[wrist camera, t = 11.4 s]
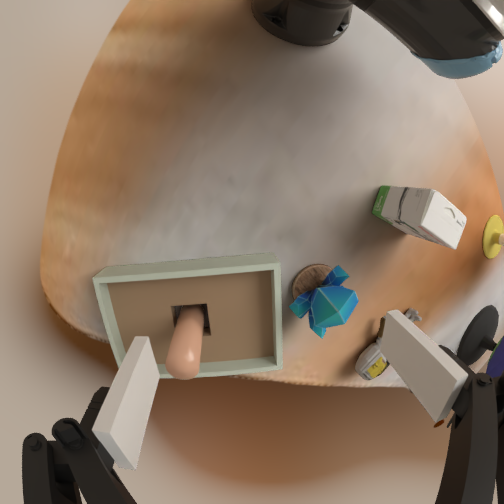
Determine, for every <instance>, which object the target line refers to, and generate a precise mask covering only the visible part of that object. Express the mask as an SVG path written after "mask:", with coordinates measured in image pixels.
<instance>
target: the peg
mask: <svg viewBox="0 0 504 504" xmlns="http://www.w3.org/2000/svg"><path fill="white" fill-rule="evenodd" d="M204 318H205V311H204V308H203V307H202V306H201V305H200V304H193V305H183V306H182V308H181V310H180V314H179V317H178V320H177V324H176V327H175V330H174V334H173V337H172V341H171V344H170V348H169V351H168V355H167V358H166V362H165V367H166V370H167V371H168V373H169V374H170V375H171V376H173V377H175V378H177V379H181V380H188V379H192V378H194V377H195V376H196V375H197V374H198V372H199V366H200V356H201V346H202V336H203V327H204Z"/></svg>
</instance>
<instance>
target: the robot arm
mask: <svg viewBox="0 0 504 504" xmlns="http://www.w3.org/2000/svg"><path fill="white" fill-rule="evenodd" d="M353 4H354V5H356V6H357V7H358V8H360V9H361V10H363V11H364V12H365V13H367V14H368V15H369V16H371V17H372V18H373V19H374V20H376V21H377V22H378V23H380V24H381V25H382V26H383V27H384V28H386V29H387V30H388V31H389V32H390V33H392V34H393V35H394V36H395V37H396V38H397V39H398V40H400V41H401V42H402V43H403V44H404V45H405V46H406V47H407V48H408V49H409V50H410V51H411V53H412V54H413V55H414V56H415V57H417V58H419V59H420V60H421V61H422V62H424V63H425V64H426V65H427V66H428V67H429V68H430V69H431V70H432V71H433V72H434V73H436V74H437V75H439V76H443V77H446V78H450V79H461V78H467V77H471V76H475V75H478V74H480V73H482V72H485V71H486V70H488V69H490V68H491V67H492V64H493V63H497V62H498V61H499V60H500V58H501V56H502V52H503V49H502V46H501V42H500V41H501V40H503V39H504V0H252V11H253V14H254V16H255V18H256V20H257V21H258V22H259V23H260V24H261V25H262V27H264V28H265V29H266V30H267V31H269V32H270V33H272V34H273V35H275V36H277V37H279V38H281V39H283V40H285V41H288V42H291V43H295V44H299V45H305V46H321V45H326V44H329V43H332V42H334V41H335V40H337V39H338V38H339V37H340V36H341V35H342V34H343V33H344V32H345V31H346V29H347V27H348V25H349V23H350V18H351V12H352V7H353ZM380 352H381V353H382V354H383V355H384V357H385V358H386V359H387V360H388V362H389V363H390V364H391V365H392V367H393V368H394V369H395V370H396V372H397V373H398V374H399V376H400V377H401V378H402V379H403V381H404V382H405V383H406V384H407V386H408V387H409V388H410V390H411V391H412V392H413V394H414V395H415V396H416V397H417V399H418V400H419V401H420V403H421V404H422V405H423V407H424V408H425V409H426V410H427V412H428V413H429V415H430V416H431V417H432V418H433V420H434V421H435V423H436V422H438V421H440V420H442V419H444V418H446V417H447V416H448V414H449V412H450V410H451V409H453V411H455V413H454V414H453V416H452V418H451V420H450V421H449V423H448V425H447V428H448V427H449V426H450V424H451V423H452V426H451V433H450V440H449V446H448V452H447V458H446V463H445V467H444V472H443V477H442V480H441V485H440V489H439V492H438V495H437V499H436V502H435V504H492V501H493V494H494V488H495V479H496V484H497V496H498V504H504V370H503V372H502V374H501V376H498V377H494V378H492V377H491V376H490V375H488V374H486V373H477V374H475V373H474V372H473V371H472V370H471V369H470V368H469V367H468V366H467V365H466V364H465V363H464V362H463V361H461V360H459V358H458V357H457V356H456V355H454V353H453V352H452V351H451V350H450V349H448V348H446V347H444V346H442V345H439V346H438V345H437V344H436V343H435V342H434V341H432V340H431V339H430V338H429V337H428V336H427V335H426V334H425V333H424V332H423V331H421V330H420V329H419V328H418V327H417V326H416V325H415V324H414V323H412V322H411V321H410V320H409V319H408V318H407V317H406V316H405V315H403V314H402V313H401V312H400V311H399V310H398V309H397V310H392V311H387V314H386V320H385V326H384V331H383V336H382V341H381V346H380ZM159 377H160V374H159V371H158V368H157V364H156V361H155V358H154V354H153V351H152V348H151V344H150V340H149V337H148V336H135V338H134V340H133V342H132V344H131V346H130V348H129V350H128V352H127V354H126V356H125V358H124V360H123V362H122V364H121V366H120V368H119V370H118V372H117V374H116V377H115V379H114V381H113V383H112V385H111V387H110V388H109V387H101V388H100V389H99V390H98V391H97V392H96V393H95V394H94V396H93V398H92V400H91V403H90V404H89V406H88V409H87V410H86V412H85V414H84V416H83V418H82V420H81V423H80V424H79V423H78V422H77V421H76V420H75V419H73V418H63V419H60V420H59V421H57V422H56V423H55V424H54V425H53V428H52V435H53V437H54V438H55V439H56V441H47V439H46V438H45V437H44V436H43V435H42V434H40V433H32V434H30V435H28V436H27V437H26V438H25V439H24V442H23V450H22V451H23V452H22V479H23V496H24V504H82V501H81V497H80V492H79V488H80V491H81V493H82V494H83V497H84V498H85V500H86V502H87V504H137V503H136V502H135V500H134V499H133V497H132V496H131V495H130V493H129V492H128V490H127V489H126V487H125V486H124V484H123V483H122V481H121V480H120V479H119V477H118V475H117V474H116V472H115V470H114V469H113V464H114V461H115V463H116V464H117V465H118V466H119V467H120V468H125V469H131V470H136V468H137V463H138V459H139V454H140V450H141V446H142V442H143V438H144V433H145V430H146V425H147V421H148V418H149V414H150V410H151V406H152V403H153V399H154V395H155V392H156V388H157V384H158V380H159ZM78 486H79V487H78Z"/></svg>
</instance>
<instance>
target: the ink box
mask: <svg viewBox="0 0 504 504" xmlns="http://www.w3.org/2000/svg"><path fill="white" fill-rule="evenodd" d="M372 214H374V215H375V216H377V217H379V218H380V219H382V220H384V221H386V222H387V223H389V224H391V225H393V226H394V227H396V228H398V229H399V230H401V231H403V232H405V233H406V234H409V235H413V236H416V237H419V238H422V239H425V240H428V241H431V242H434V243H437V244H440V245H443V246H446V247H449V248H452V249H454V250H456V248H457V245H458V243H459V240H460V238H461V235H462V232H463V229H464V226H465V224H466V216H465V215H463V214H462V212H461V211H459V210H458V209H457V208H456V207H455V206H454V205H453V204H452V203H450V202H449V201H448V200H447V199H446V198H445V197H444V196H443V195H441V194H440V193H439V192H438V191H435V190H434V189H426V188H413V187H399V186H381V188H380V190H379V193H378V196H377V198H376V201H375V204H374V207H373V210H372Z"/></svg>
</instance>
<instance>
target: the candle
mask: <svg viewBox="0 0 504 504" xmlns="http://www.w3.org/2000/svg"><path fill="white" fill-rule="evenodd" d="M501 246H504V228H503V223H502V220H501V218H500V217H499V216H498V215H493V216H491V217H490V218H489V220H488V221H487V223H486V226H485V229H484V233H483V251H484V254H485V256H486V257H487V258H488V259H491V258H494V257H495V256H496V255H497V254H498V252H499V251H500V249H501Z"/></svg>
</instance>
